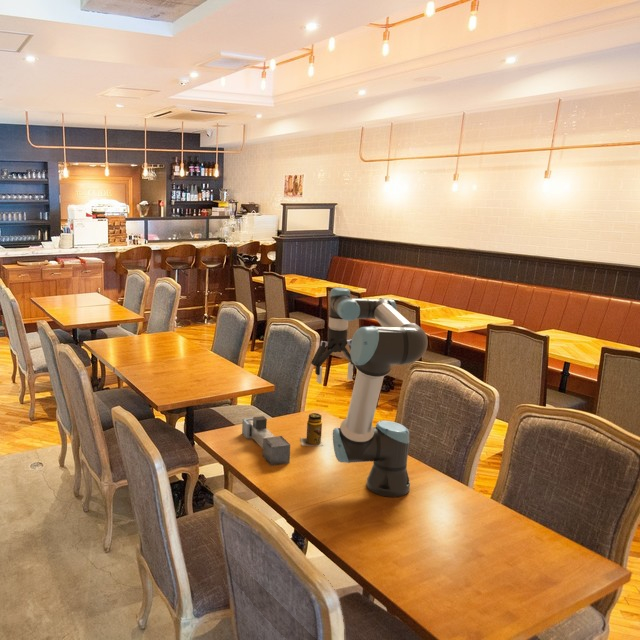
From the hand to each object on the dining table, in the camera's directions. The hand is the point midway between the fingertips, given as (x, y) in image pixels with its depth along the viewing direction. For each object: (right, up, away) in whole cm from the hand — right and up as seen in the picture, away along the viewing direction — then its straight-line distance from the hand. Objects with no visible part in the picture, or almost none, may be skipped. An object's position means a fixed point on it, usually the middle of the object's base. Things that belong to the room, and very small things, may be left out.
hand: (334, 381), depth 232 cm
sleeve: (-23, -29, -6) cm, 37 cm away
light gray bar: (-29, -25, +7) cm, 39 cm away
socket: (-34, -24, +16) cm, 44 cm away
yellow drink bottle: (-9, -27, +12) cm, 31 cm away
